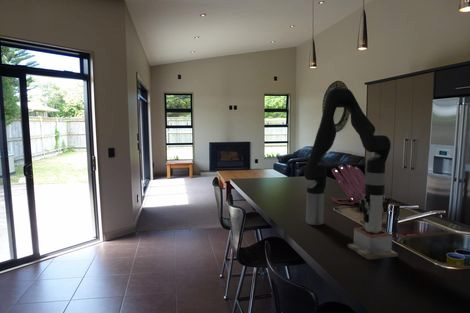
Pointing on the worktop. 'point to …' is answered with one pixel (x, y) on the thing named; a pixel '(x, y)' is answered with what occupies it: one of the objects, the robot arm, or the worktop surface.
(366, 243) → the sleeve
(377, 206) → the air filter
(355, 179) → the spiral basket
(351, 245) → the base board
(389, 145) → the robot arm
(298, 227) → the worktop surface
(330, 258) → the worktop surface
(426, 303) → the worktop surface
